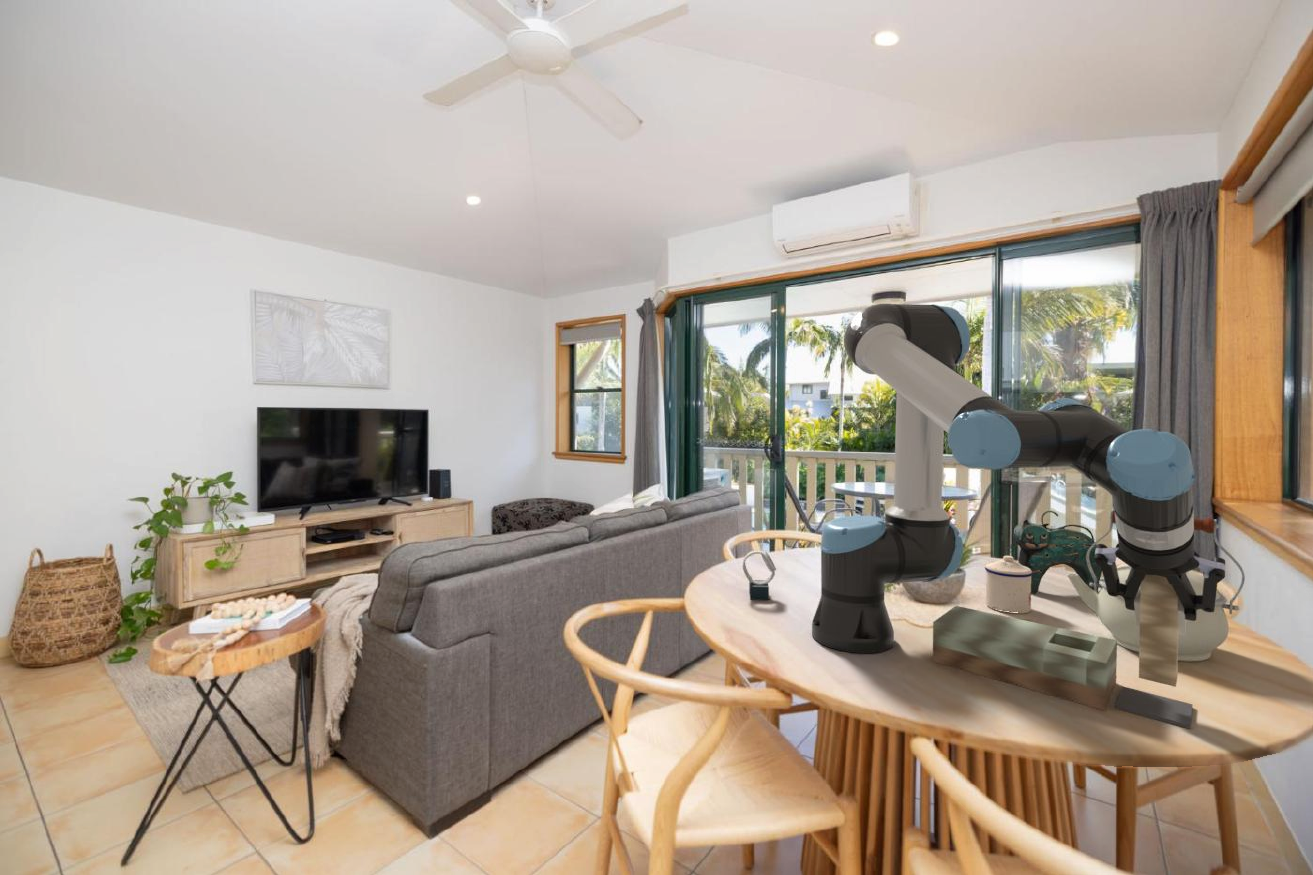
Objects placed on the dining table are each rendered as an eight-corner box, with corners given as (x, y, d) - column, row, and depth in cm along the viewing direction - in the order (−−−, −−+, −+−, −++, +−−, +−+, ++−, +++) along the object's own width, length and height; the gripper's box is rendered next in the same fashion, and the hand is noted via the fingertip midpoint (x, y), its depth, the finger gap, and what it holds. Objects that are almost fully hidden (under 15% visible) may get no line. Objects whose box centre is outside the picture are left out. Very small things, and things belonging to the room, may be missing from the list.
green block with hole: (932, 661, 100) (933, 622, 99) (955, 641, 108) (955, 605, 108) (1105, 710, 83) (1106, 663, 82) (1116, 683, 91) (1117, 640, 91)
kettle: (1240, 648, 104) (1244, 514, 103) (1243, 681, 91) (1248, 528, 90) (1073, 615, 122) (1076, 500, 121) (1056, 639, 109) (1059, 511, 108)
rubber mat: (1115, 708, 83) (1115, 704, 83) (1122, 689, 89) (1122, 686, 89) (1190, 728, 78) (1190, 725, 78) (1192, 707, 83) (1192, 704, 83)
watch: (777, 600, 133) (777, 554, 133) (742, 599, 134) (742, 553, 134) (775, 593, 139) (775, 548, 138) (742, 592, 140) (742, 548, 139)
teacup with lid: (1041, 615, 122) (1042, 561, 122) (997, 614, 123) (998, 561, 122) (1010, 597, 134) (1011, 548, 134) (970, 596, 135) (971, 548, 134)
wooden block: (1138, 677, 83) (1140, 569, 82) (1141, 669, 85) (1143, 564, 85) (1175, 686, 80) (1178, 574, 79) (1177, 677, 83) (1179, 569, 82)
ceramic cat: (1022, 594, 136) (1023, 512, 135) (1006, 586, 143) (1007, 508, 142) (1106, 595, 135) (1108, 512, 135) (1087, 587, 142) (1088, 508, 141)
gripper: (1068, 543, 77) (1087, 630, 89) (1249, 565, 65) (1242, 662, 77) (1076, 500, 81) (1093, 589, 93) (1249, 513, 69) (1242, 614, 81)
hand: (1161, 622), depth 85 cm, fingers closed on wooden block, 4 cm apart
